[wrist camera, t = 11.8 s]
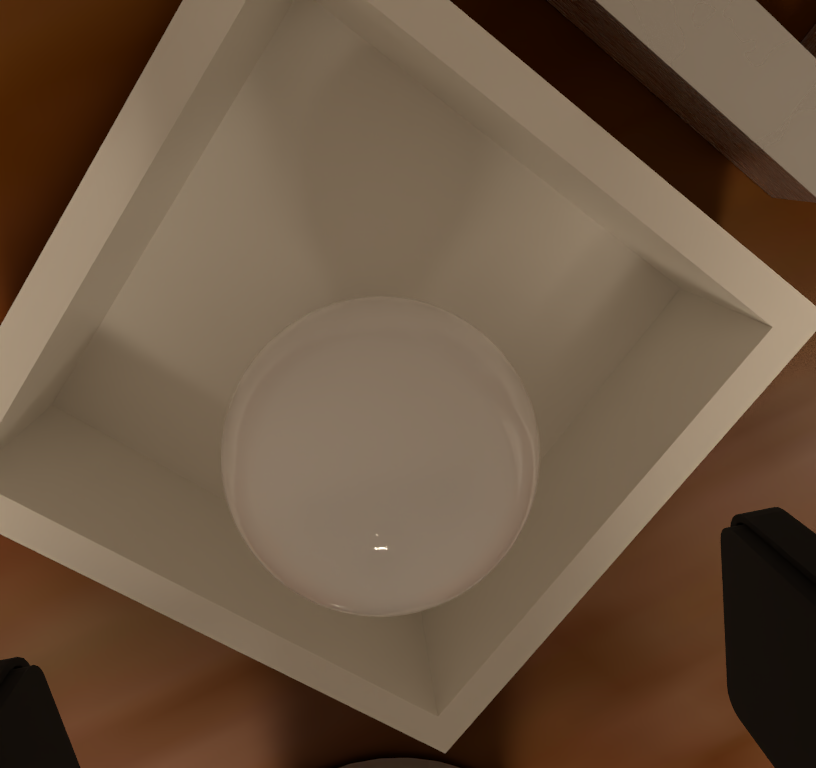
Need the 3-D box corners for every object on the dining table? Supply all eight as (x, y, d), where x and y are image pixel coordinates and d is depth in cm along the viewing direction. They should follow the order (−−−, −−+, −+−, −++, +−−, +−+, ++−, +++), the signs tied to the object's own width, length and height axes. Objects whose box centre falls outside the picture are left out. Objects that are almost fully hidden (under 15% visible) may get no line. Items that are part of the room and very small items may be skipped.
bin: (708, 275, 23) (828, 316, 17) (424, 622, 26) (445, 753, 21) (291, -62, 19) (267, -152, 13) (20, 402, 22) (-91, 488, 17)
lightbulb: (293, 221, 20) (238, 289, 10) (497, 281, 21) (644, 400, 11) (244, 418, 22) (153, 656, 11) (434, 465, 23) (509, 720, 13)
